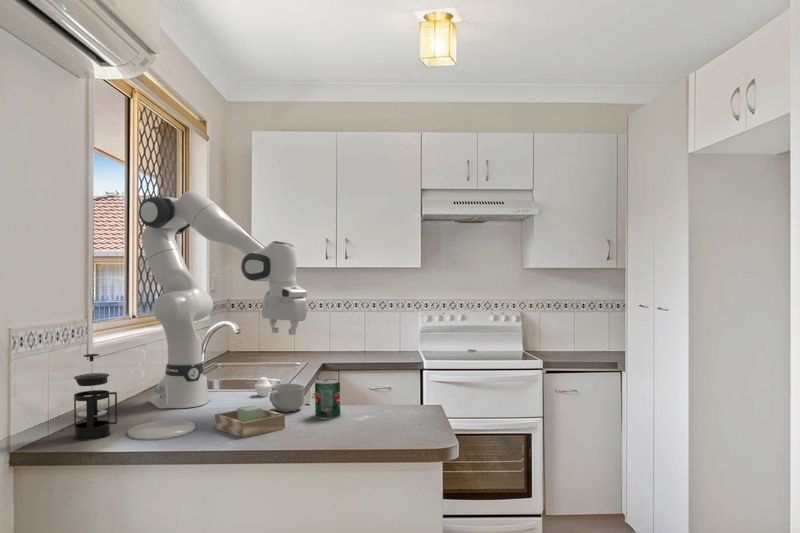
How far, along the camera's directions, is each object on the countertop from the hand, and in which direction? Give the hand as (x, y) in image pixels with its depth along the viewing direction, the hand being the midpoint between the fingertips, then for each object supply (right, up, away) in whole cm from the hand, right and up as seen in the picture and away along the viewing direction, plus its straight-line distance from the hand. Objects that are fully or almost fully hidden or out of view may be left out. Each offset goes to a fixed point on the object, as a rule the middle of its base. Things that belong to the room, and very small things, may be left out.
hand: (283, 333), depth 208 cm
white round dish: (-31, -26, -24) cm, 47 cm away
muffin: (-12, -25, +25) cm, 37 cm away
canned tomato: (+15, -25, -8) cm, 30 cm away
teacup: (0, -25, 0) cm, 25 cm away
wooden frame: (-6, -25, -22) cm, 34 cm away
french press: (-48, -26, -28) cm, 61 cm away
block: (-6, -25, -22) cm, 34 cm away
